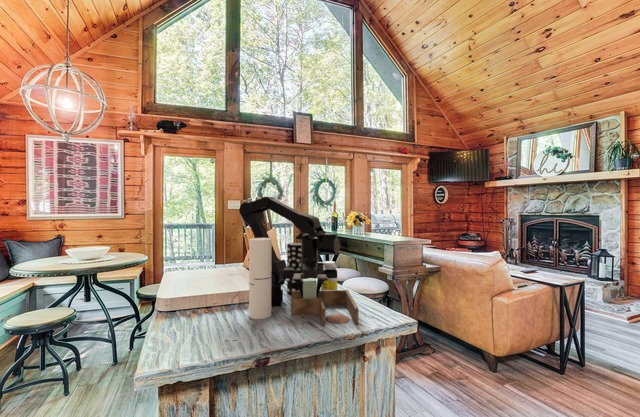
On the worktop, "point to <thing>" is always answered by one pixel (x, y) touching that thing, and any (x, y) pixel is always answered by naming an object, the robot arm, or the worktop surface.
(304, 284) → the block
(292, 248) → the white-spotted black cylinder
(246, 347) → the worktop surface
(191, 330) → the worktop surface
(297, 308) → the channel
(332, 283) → the supplement bottle
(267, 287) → the cylindrical container
